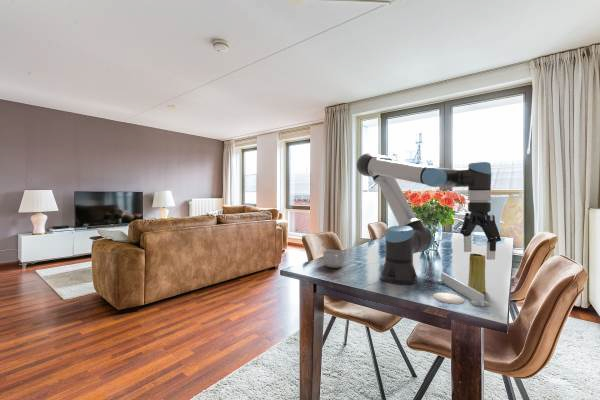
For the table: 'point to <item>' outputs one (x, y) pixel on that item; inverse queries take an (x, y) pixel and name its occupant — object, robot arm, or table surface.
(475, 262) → the vase
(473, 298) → the acrylic wall
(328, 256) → the teacup
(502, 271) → the table surface
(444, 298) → the coaster
